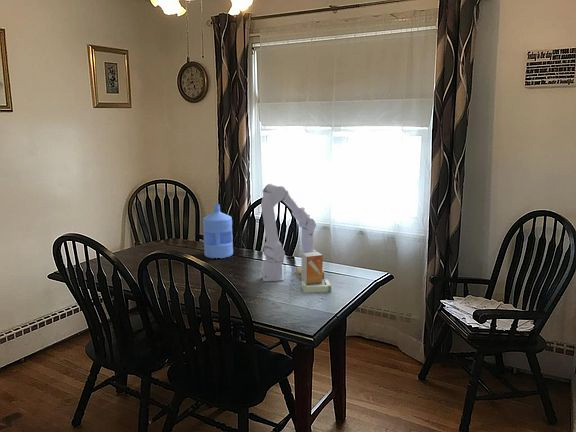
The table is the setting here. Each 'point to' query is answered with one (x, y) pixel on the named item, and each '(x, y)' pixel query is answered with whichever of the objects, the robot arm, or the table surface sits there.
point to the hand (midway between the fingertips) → (307, 268)
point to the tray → (316, 287)
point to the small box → (312, 267)
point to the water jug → (218, 234)
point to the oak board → (298, 271)
